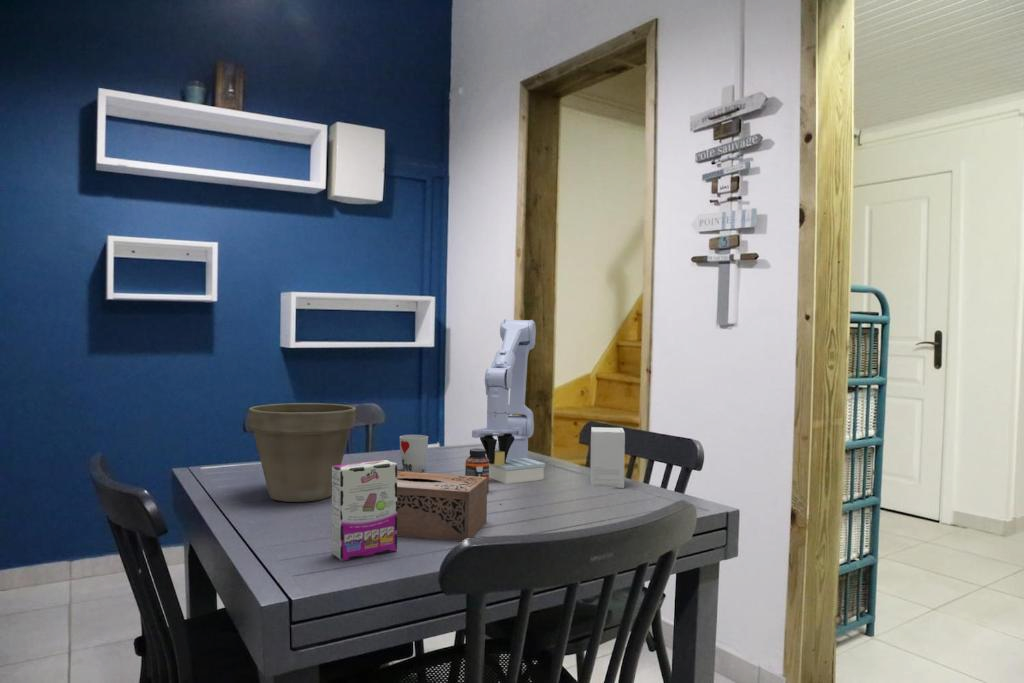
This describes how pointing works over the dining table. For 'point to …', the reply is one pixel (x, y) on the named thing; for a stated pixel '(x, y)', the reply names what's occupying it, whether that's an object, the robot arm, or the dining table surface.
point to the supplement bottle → (478, 464)
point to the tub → (516, 474)
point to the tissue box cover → (440, 505)
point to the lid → (514, 462)
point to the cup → (413, 452)
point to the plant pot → (301, 447)
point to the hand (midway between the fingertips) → (496, 462)
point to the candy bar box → (364, 509)
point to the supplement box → (607, 456)
